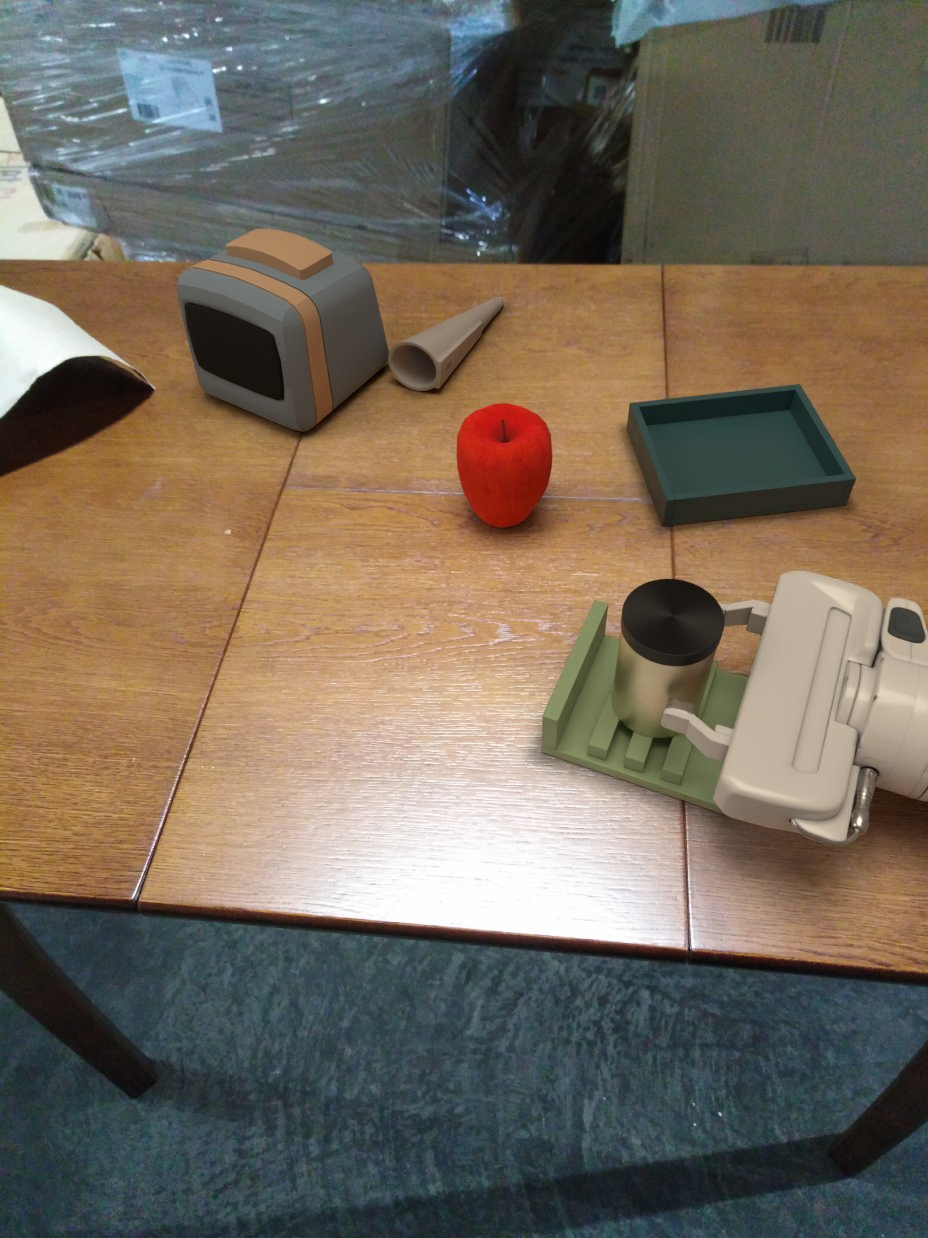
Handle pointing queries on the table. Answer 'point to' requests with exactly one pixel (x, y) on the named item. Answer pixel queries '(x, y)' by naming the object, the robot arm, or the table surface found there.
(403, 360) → the long tapered cone
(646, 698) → the travel mug
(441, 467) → the table surface
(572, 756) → the drying rack
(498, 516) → the apple
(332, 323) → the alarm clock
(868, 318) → the table surface
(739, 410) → the tray
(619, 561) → the table surface
